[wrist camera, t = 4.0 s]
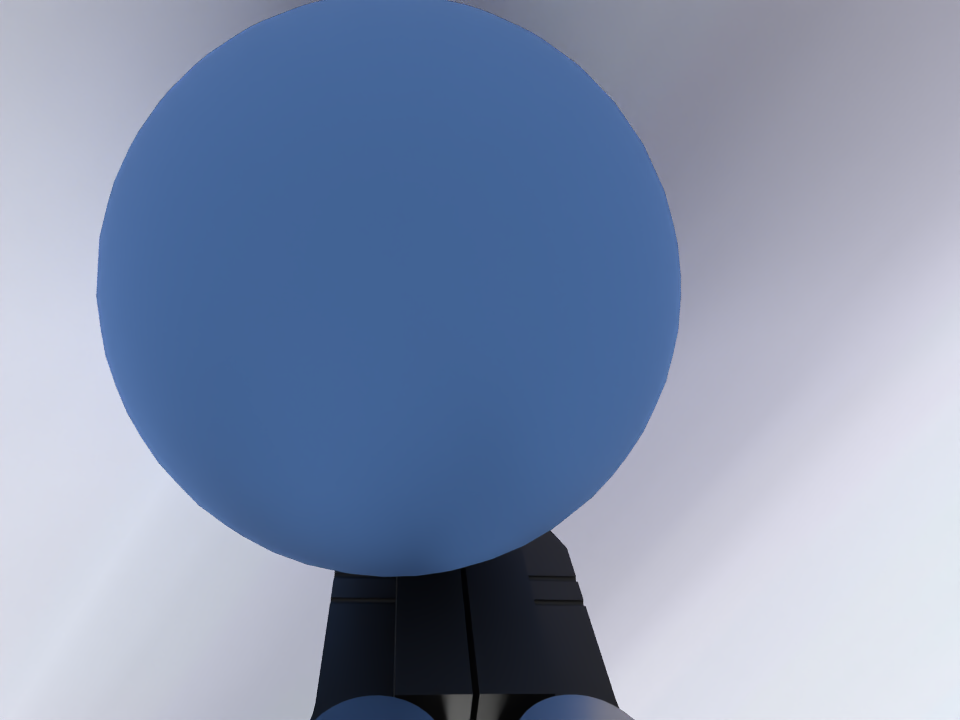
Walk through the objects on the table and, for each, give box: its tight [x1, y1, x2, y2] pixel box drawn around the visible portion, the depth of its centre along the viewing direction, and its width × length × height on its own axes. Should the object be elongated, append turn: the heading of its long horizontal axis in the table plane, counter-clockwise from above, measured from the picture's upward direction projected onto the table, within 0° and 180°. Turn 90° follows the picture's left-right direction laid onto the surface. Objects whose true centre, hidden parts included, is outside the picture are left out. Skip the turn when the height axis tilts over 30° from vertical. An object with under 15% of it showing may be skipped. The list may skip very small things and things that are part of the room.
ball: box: [96, 0, 681, 577], centre depth 7 cm, size 6×6×6 cm
